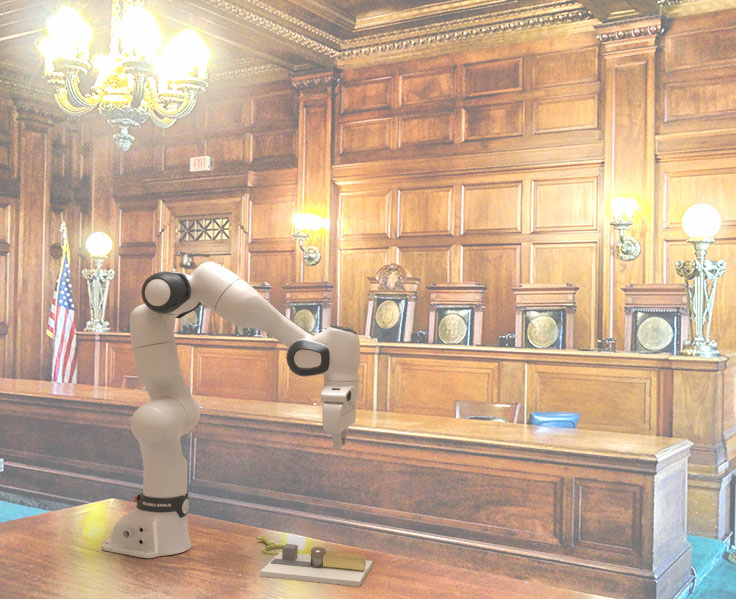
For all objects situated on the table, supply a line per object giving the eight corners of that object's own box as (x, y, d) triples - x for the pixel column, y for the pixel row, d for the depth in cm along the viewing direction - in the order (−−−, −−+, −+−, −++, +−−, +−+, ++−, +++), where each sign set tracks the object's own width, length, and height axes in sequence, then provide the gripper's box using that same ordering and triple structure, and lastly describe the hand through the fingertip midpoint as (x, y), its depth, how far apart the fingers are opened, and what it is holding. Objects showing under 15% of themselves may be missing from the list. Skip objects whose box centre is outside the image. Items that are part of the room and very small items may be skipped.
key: (263, 541, 216) (263, 533, 216) (292, 552, 207) (293, 544, 207) (241, 547, 210) (241, 539, 210) (271, 559, 202) (271, 550, 202)
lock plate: (260, 576, 188) (260, 557, 188) (279, 556, 202) (280, 539, 202) (359, 586, 183) (360, 567, 183) (372, 565, 198) (372, 548, 198)
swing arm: (308, 566, 191) (309, 551, 191) (312, 561, 195) (313, 546, 195) (362, 571, 189) (363, 556, 188) (365, 566, 192) (366, 551, 192)
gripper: (338, 386, 209) (337, 439, 209) (318, 395, 189) (316, 453, 189) (362, 387, 208) (360, 440, 208) (344, 396, 188) (342, 455, 188)
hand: (339, 446), depth 198 cm, fingers open, 4 cm apart
